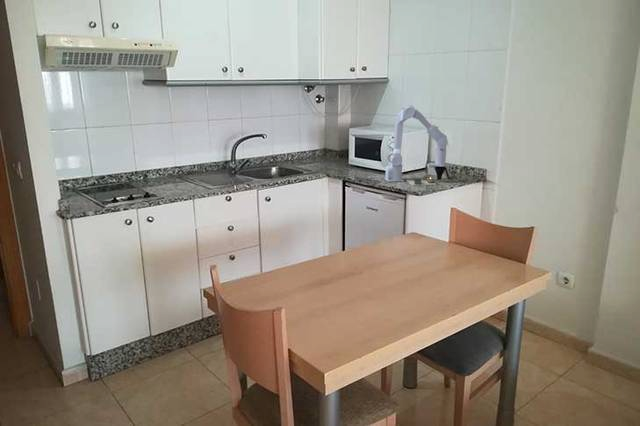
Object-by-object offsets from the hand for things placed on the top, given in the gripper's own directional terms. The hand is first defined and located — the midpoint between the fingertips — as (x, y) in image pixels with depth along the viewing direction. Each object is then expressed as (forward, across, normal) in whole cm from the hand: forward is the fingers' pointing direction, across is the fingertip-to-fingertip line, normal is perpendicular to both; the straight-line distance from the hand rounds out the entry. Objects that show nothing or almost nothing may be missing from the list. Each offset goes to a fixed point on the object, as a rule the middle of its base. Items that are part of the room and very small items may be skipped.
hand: (439, 179), depth 285 cm
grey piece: (+2, +6, +16) cm, 17 cm away
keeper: (+1, -15, -5) cm, 16 cm away
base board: (+1, -11, -2) cm, 12 cm away
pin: (-1, -6, -4) cm, 8 cm away
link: (+1, -6, 0) cm, 6 cm away
